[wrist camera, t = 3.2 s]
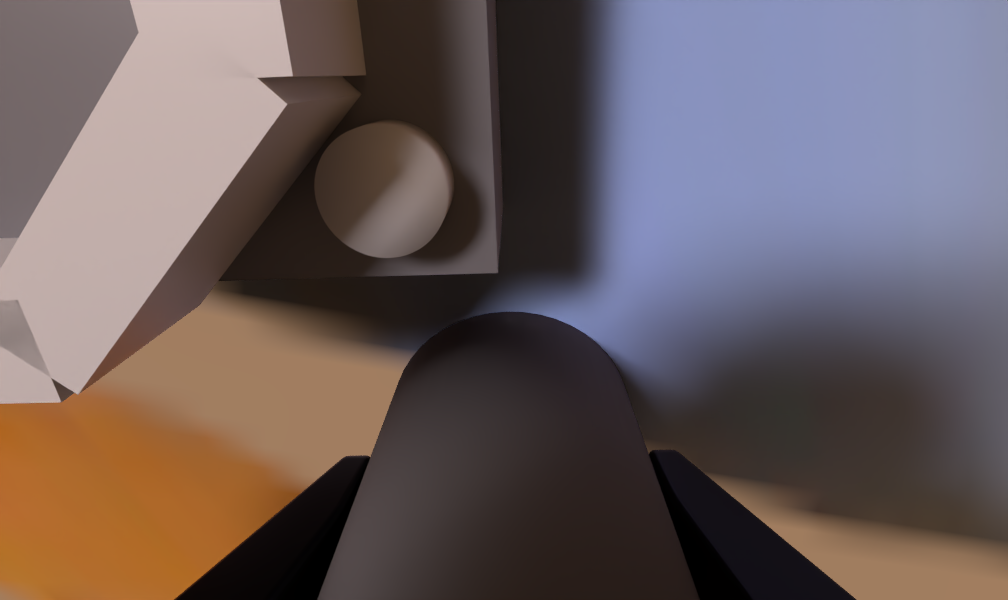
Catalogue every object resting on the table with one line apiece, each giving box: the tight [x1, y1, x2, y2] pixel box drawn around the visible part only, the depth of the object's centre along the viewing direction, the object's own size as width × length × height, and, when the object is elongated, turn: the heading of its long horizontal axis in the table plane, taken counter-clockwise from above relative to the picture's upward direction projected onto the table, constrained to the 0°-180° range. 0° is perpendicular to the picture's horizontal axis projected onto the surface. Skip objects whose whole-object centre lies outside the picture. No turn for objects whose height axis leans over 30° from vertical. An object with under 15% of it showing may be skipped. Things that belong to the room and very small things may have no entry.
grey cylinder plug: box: [317, 312, 700, 600], centre depth 7 cm, size 4×4×7 cm
